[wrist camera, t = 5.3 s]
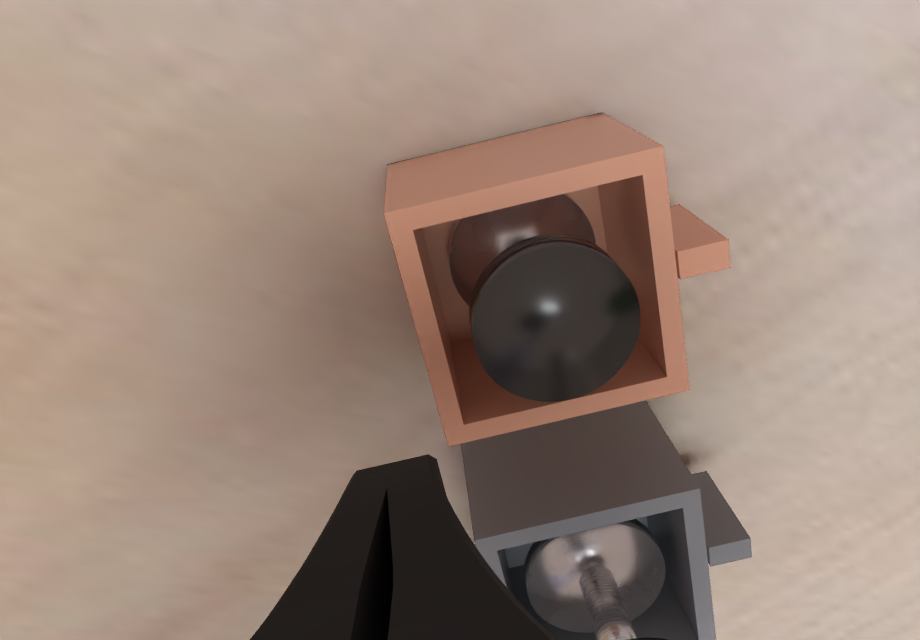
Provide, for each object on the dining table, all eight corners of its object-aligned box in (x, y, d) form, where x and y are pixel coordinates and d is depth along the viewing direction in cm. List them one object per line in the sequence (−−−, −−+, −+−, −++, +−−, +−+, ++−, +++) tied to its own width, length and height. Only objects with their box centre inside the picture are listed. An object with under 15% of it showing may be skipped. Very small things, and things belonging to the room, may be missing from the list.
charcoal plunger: (665, 600, 22) (738, 764, 17) (536, 629, 22) (574, 801, 17) (650, 496, 20) (726, 646, 16) (512, 528, 20) (545, 687, 16)
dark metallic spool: (600, 299, 21) (659, 386, 16) (465, 331, 21) (484, 427, 16) (579, 163, 19) (637, 216, 15) (433, 198, 19) (444, 263, 15)
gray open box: (701, 526, 26) (765, 639, 21) (496, 573, 26) (517, 696, 21) (684, 382, 23) (754, 475, 19) (460, 435, 23) (474, 540, 19)
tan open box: (676, 298, 22) (748, 376, 18) (438, 355, 22) (448, 446, 18) (654, 99, 20) (731, 129, 15) (387, 164, 20) (383, 213, 15)
